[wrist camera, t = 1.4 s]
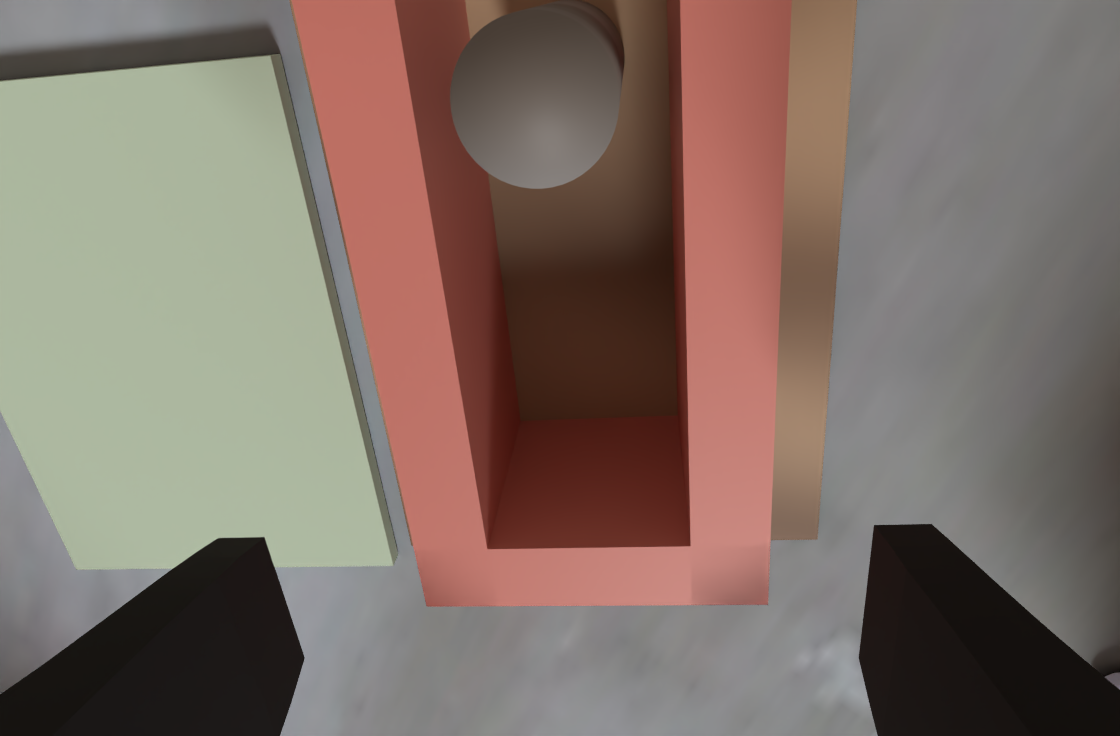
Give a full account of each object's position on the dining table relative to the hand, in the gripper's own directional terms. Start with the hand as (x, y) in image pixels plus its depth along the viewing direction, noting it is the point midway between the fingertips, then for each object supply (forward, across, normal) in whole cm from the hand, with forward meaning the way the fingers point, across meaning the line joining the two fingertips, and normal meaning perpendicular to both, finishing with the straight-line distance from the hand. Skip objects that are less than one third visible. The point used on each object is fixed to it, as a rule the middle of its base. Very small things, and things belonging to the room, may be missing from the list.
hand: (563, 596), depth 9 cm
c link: (+6, 0, -2) cm, 7 cm away
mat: (+7, +9, 0) cm, 11 cm away
